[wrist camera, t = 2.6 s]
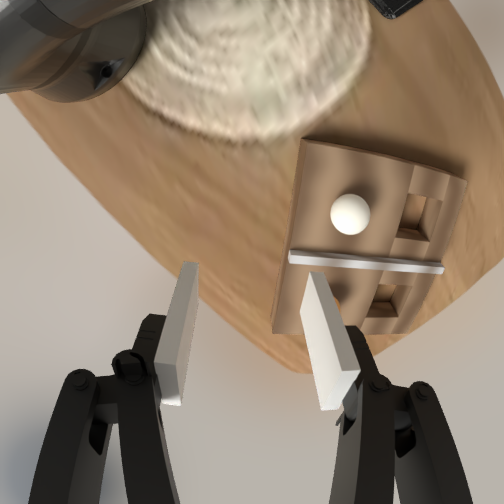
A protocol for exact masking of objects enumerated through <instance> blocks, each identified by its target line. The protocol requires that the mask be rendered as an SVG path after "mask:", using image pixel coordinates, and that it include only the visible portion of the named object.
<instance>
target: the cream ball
mask: <svg viewBox="0 0 504 504" xmlns="http://www.w3.org/2000/svg"><path fill="white" fill-rule="evenodd" d="M330 215H331V220H332V223H333V225H334V226H335V227H336V229H337V230H339V231H340V232H342V233H344V234H348V235H354V234H358V233H360V232H361V231H363V230H364V229H365V228H366V227H367V225H368V223H369V220H370V209H369V206H368V204H367V203H366V201H365V200H364V199H363V198H361V197H360V196H358V195H355V194H345V195H342V196H340V197H339V198H338V199H336V200H335V202H334V203H333V205H332V207H331V213H330Z"/></svg>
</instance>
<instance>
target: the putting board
mask: <svg viewBox="0 0 504 504" xmlns="http://www.w3.org/2000/svg"><path fill="white" fill-rule="evenodd" d="M467 182H468V181H467V180H465V179H463V178H461V177H459V176H457V175H455V174H453V173H451V172H447V171H444V170H441V169H438V168H434V167H431V166H428V165H424V164H421V163H417V162H413V161H410V160H406V159H402V158H398V157H394V156H390V155H386V154H382V153H377V152H373V151H368V150H364V149H359V148H354V147H349V146H344V145H339V144H333V143H328V142H322V141H316V140H310V139H303V138H301V141H300V148H299V154H298V161H297V167H296V174H295V180H294V187H293V193H292V199H291V205H290V211H289V217H288V223H287V229H286V235H285V241H284V246H283V252H282V258H281V263H280V269H279V274H278V280H277V285H276V291H275V296H274V301H273V307H272V312H271V324H272V333H273V334H297V335H305V333H304V328H303V324H302V320H301V315H300V308H301V304H302V301H303V297H304V293H305V289H306V285H307V281H308V277H309V272H310V271H313V272H324V275H325V277H326V279H327V282H328V284H329V287H330V289H331V292H332V294H333V296H334V297H335V298H336V299H337V300H338V302H339V304H340V309H341V311H340V315H341V317H342V320H343V323H344V325H356V326H357V327H358V328H359V329H360V330H361V332H362V333H363V335H377V334H403V333H408V331H409V329H410V327H411V325H412V323H413V321H414V320H415V318H416V316H417V314H418V312H419V310H420V307H421V305H422V303H423V301H424V299H425V297H426V295H427V293H428V291H429V288H430V286H431V284H432V282H433V279H434V277H435V275H436V274H442V273H443V271H444V268H445V267H444V266H443V265H442V264H441V260H442V258H443V255H444V253H445V250H446V247H447V245H448V242H449V239H450V236H451V234H452V231H453V228H454V225H455V222H456V219H457V216H458V213H459V210H460V206H461V203H462V200H463V196H464V193H465V189H466V186H467ZM408 193H410V194H415V195H420V196H424V197H427V199H426V202H425V206H424V209H423V213H422V216H421V219H420V222H419V225H418V229H417V230H414V229H407V228H400V227H398V226H399V223H400V220H401V216H402V213H403V209H404V206H405V202H406V198H407V195H408ZM345 194H355V195H358V196H360V197H361V198H363V199H364V200H365V201H366V203H367V204H368V206H369V209H370V220H369V223H368V225H367V227H366V228H365V229H364V230H363V231H361V232H360V233H358V234H354V235H348V234H344V233H342V232H340V231H339V230H337V229H336V227H335V226H334V225H333V223H332V220H331V215H330V213H331V207H332V205H333V203H334V202H335V200H336V199H338V198H339V197H340V196H342V195H345ZM379 284H387V285H397V286H396V289H395V291H394V293H393V296H392V298H391V300H390V302H372V300H373V298H374V295H375V293H376V290H377V288H378V285H379Z"/></svg>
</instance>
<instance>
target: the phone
mask: <svg viewBox="0 0 504 504" xmlns="http://www.w3.org/2000/svg"><path fill="white" fill-rule="evenodd" d="M369 1H370V2H371V3H372V4H373V5H374V7H375V8H376V9H377V10H378V11H379V12H380V13H381V14H382V15H383V16H384V17H386V18H388V19H394V18H396V17H398V16H400V15H401V14H403V13H404V12H406V11H407V10H409V9H410V8H412V7H413V6H415V5H416V4H418V3H419V2H421V1H423V0H369Z"/></svg>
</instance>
